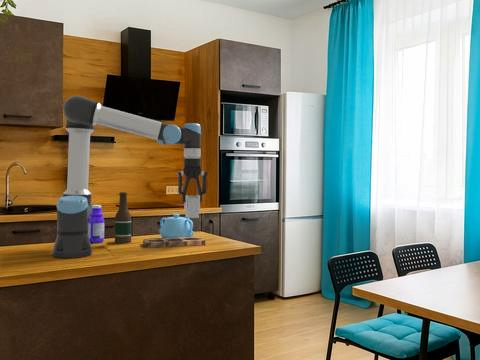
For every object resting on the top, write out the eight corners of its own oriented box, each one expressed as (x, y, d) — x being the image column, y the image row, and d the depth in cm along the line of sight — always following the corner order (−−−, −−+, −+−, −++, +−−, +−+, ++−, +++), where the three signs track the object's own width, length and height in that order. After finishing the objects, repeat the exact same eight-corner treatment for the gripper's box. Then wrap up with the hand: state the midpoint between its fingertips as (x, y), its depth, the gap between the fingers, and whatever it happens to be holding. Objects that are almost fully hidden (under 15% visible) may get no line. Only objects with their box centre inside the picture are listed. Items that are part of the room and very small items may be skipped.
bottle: (99, 240, 231) (99, 204, 230) (106, 241, 227) (106, 205, 227) (86, 242, 225) (86, 205, 225) (93, 243, 222) (93, 206, 221)
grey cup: (188, 218, 215) (188, 196, 214) (185, 216, 219) (185, 195, 219) (198, 217, 216) (199, 196, 216) (196, 216, 221) (196, 195, 221)
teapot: (150, 240, 233) (150, 214, 233) (171, 234, 252) (172, 210, 251) (185, 243, 226) (186, 216, 225) (205, 237, 244) (205, 212, 243)
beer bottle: (134, 243, 223) (134, 191, 222) (128, 246, 215) (128, 192, 215) (117, 243, 224) (117, 191, 223) (111, 246, 216) (111, 192, 215)
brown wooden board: (146, 250, 206) (146, 242, 206) (143, 246, 216) (143, 239, 216) (205, 247, 215) (205, 240, 215) (199, 243, 225) (199, 236, 225)
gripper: (174, 157, 210) (174, 211, 211) (214, 158, 216) (213, 209, 217) (170, 157, 217) (170, 209, 218) (209, 158, 223) (209, 208, 224)
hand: (192, 209), depth 218 cm, fingers closed on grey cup, 5 cm apart
